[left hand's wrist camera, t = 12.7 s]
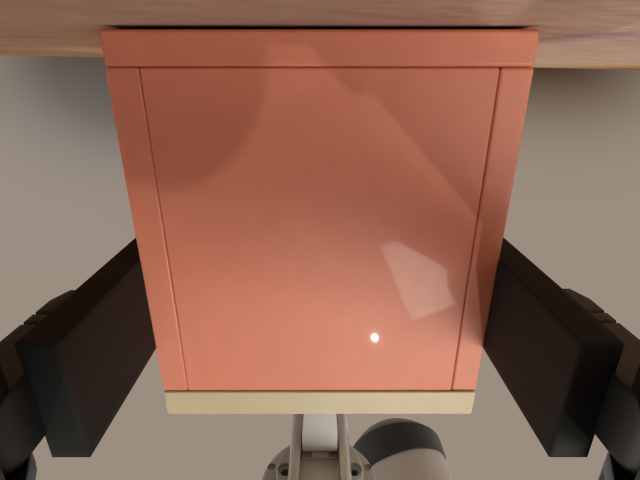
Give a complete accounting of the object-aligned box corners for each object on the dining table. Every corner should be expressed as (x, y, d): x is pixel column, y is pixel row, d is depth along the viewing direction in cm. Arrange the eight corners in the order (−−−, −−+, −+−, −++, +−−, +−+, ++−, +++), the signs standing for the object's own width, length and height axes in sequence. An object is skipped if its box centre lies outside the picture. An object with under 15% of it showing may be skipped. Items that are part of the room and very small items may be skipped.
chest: (407, 58, 21) (394, 227, 25) (232, 58, 21) (244, 226, 25) (542, 28, 8) (476, 390, 12) (96, 28, 8) (163, 390, 12)
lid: (392, 222, 26) (384, 334, 29) (247, 222, 26) (255, 334, 29) (476, 392, 12) (443, 571, 15) (163, 392, 12) (196, 571, 15)
